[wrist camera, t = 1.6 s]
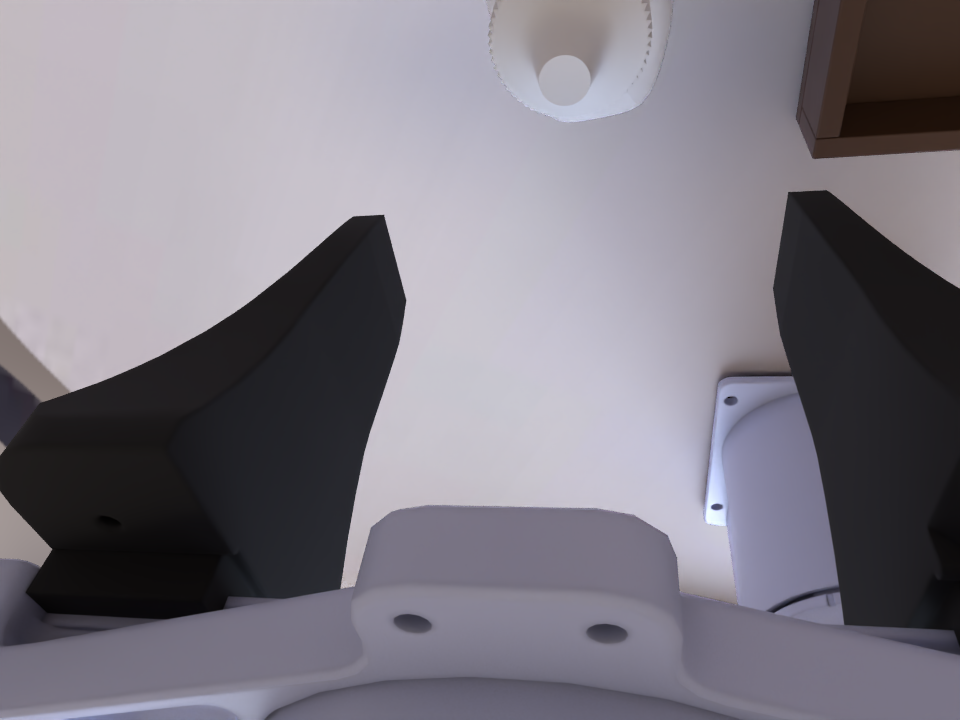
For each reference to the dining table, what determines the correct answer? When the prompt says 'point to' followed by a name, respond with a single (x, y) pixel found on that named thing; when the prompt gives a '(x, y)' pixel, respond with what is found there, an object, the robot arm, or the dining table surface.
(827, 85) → the tray
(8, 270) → the dining table surface
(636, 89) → the eye dropper bottle
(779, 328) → the robot arm
